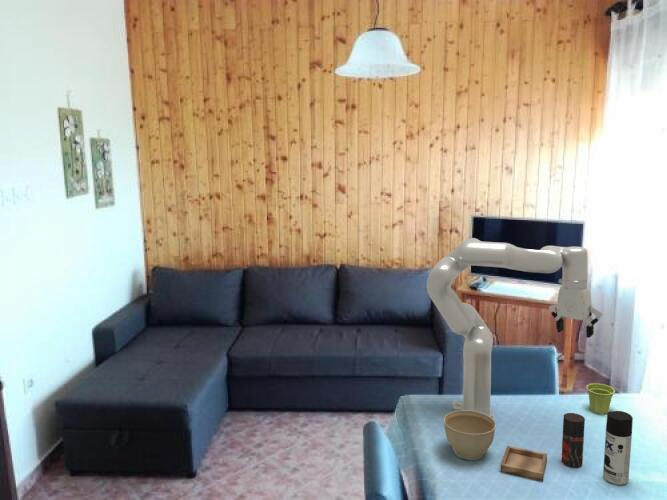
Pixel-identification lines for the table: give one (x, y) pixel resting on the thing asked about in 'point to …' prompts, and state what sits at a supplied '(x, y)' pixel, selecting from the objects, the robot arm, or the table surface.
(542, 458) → the tray
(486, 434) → the planter bowl
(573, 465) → the deodorant
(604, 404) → the plant pot
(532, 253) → the robot arm
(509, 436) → the table surface
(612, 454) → the spray can
